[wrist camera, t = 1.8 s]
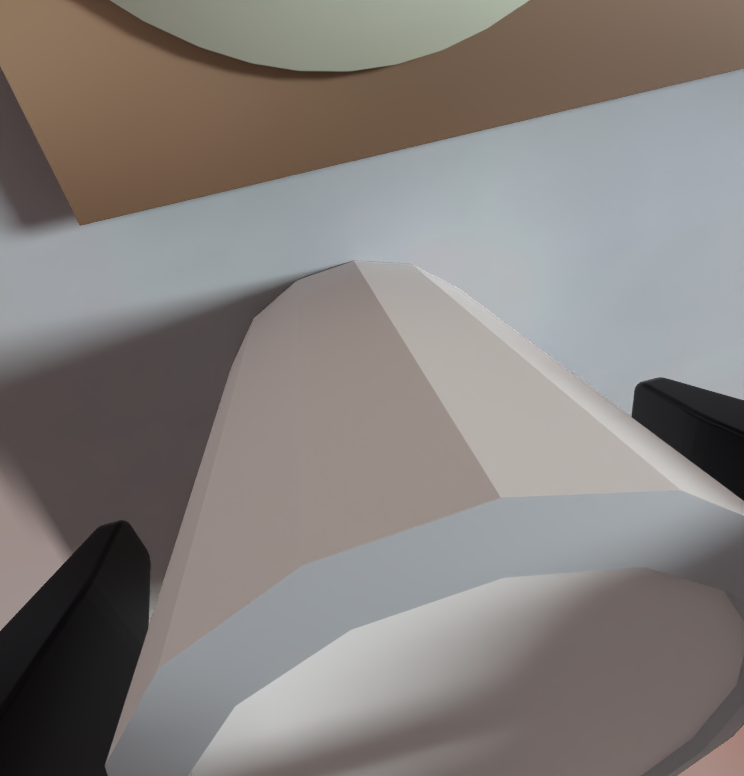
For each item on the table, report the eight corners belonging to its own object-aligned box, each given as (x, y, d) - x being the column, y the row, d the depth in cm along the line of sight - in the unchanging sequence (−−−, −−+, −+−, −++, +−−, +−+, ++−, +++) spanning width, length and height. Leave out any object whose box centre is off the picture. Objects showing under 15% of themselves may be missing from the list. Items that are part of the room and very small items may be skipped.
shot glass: (510, 480, 13) (712, 814, 7) (239, 532, 12) (216, 949, 6) (535, 202, 9) (988, 418, 4) (149, 252, 9) (-92, 630, 3)
